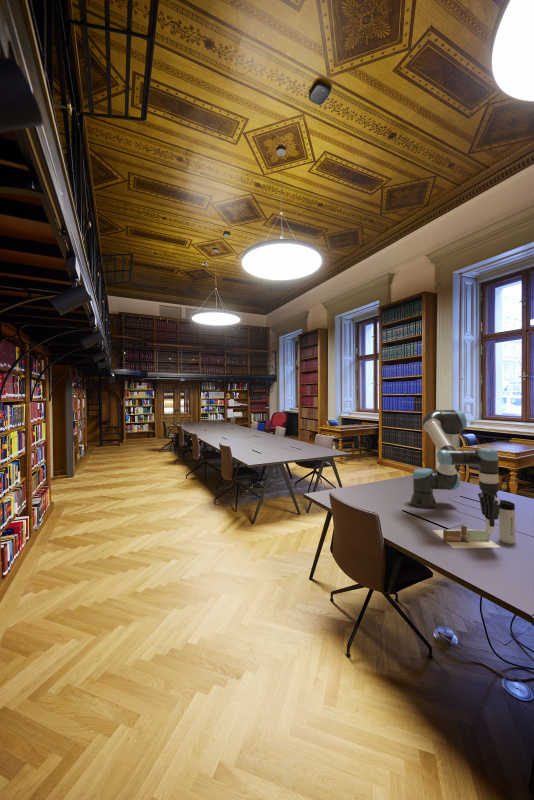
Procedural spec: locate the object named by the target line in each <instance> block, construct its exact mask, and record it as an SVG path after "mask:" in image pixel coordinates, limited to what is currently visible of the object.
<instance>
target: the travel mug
mask: <svg viewBox="0 0 534 800" xmlns="http://www.w3.org/2000/svg"><path fill="white" fill-rule="evenodd" d="M498 500H499V501H500V500H501V501H502V503H501V505H500V510H499V516H498V533H499V534H498V537H499V539H498V540H499V541H500V542H501V543H503V544H507V545H515V544H516V537H517V536H516V505H515V503H513V502H511V501H509V500H505V499H498Z"/></svg>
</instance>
